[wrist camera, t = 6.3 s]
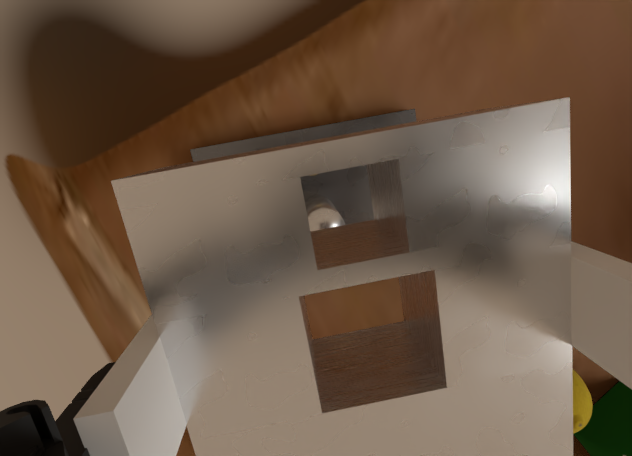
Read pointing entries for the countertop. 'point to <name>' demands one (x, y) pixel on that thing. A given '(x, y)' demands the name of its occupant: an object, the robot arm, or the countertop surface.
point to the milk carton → (610, 424)
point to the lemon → (580, 403)
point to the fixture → (329, 187)
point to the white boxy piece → (364, 267)
